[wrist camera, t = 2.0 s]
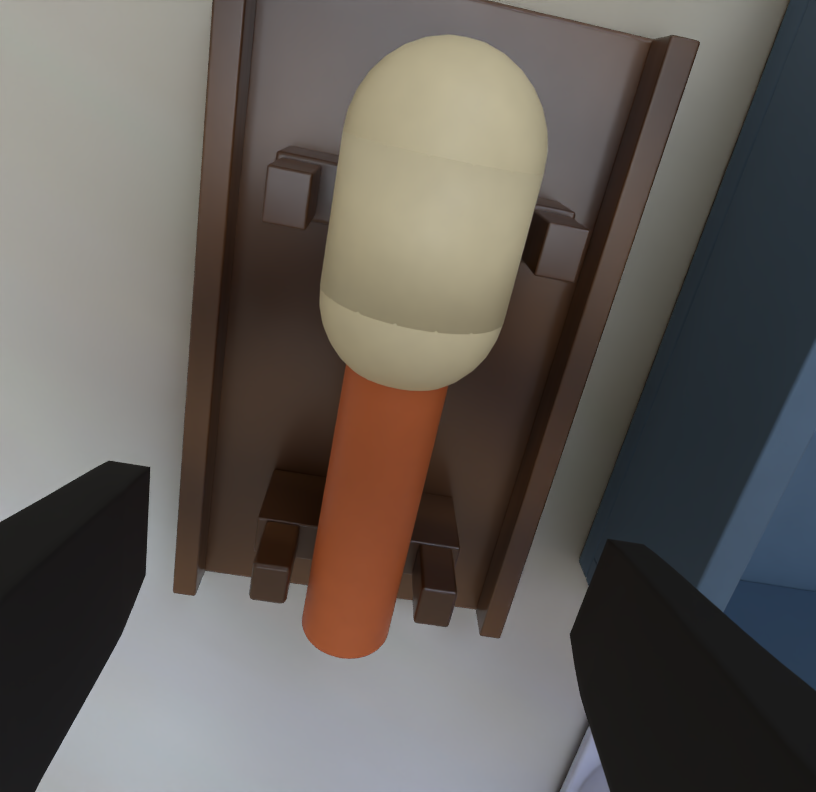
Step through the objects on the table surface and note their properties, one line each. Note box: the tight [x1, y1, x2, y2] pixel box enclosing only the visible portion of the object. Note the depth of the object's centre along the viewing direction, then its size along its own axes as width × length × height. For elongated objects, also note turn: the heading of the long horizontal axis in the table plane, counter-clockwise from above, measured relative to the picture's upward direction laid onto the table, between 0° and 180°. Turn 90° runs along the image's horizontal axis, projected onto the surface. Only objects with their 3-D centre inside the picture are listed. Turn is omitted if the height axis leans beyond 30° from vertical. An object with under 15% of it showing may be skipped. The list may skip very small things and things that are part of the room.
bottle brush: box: [302, 35, 548, 659], centre depth 13 cm, size 12×3×3 cm, turn 169°
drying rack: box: [173, 0, 700, 638], centre depth 14 cm, size 15×9×5 cm, turn 169°
